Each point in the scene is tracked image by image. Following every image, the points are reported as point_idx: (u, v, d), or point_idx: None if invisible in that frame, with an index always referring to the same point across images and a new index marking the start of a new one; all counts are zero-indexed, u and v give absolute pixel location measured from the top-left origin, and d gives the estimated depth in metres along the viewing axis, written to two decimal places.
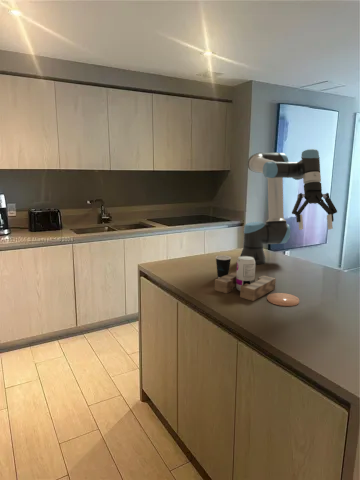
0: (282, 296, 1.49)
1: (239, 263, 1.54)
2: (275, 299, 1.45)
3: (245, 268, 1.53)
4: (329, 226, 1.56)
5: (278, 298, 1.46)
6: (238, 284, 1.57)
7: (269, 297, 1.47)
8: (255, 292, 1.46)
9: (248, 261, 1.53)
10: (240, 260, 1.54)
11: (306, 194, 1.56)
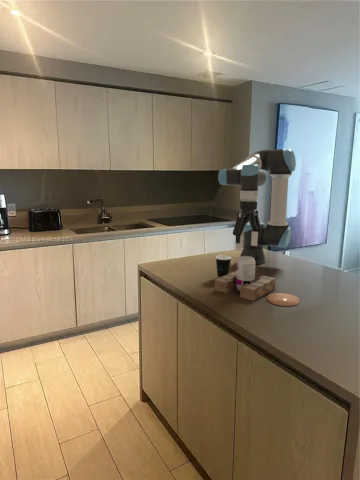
0: (282, 296, 1.49)
1: (239, 263, 1.54)
2: (275, 299, 1.45)
3: (245, 268, 1.53)
4: (254, 243, 1.59)
5: (278, 298, 1.46)
6: (238, 284, 1.57)
7: (269, 297, 1.47)
8: (255, 292, 1.46)
9: (248, 261, 1.53)
10: (240, 260, 1.54)
11: (245, 213, 1.49)
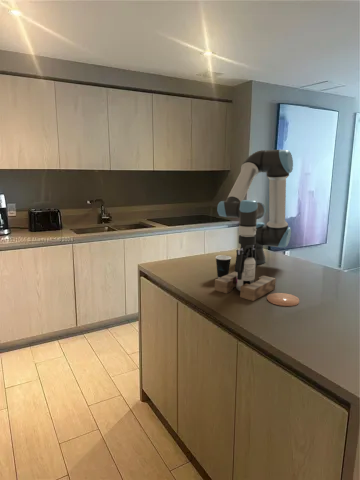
0: (282, 296, 1.49)
1: None
2: (275, 299, 1.45)
3: (245, 268, 1.53)
4: None
5: (278, 298, 1.46)
6: None
7: (269, 297, 1.47)
8: (255, 292, 1.46)
9: (248, 261, 1.53)
10: None
11: (244, 249, 1.52)
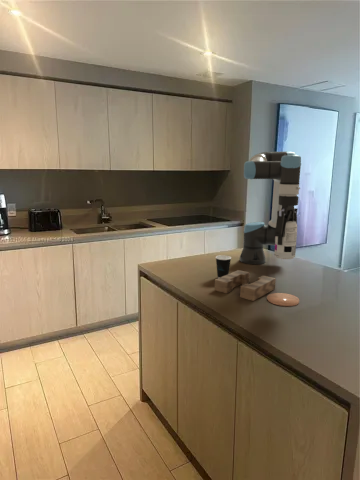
0: (282, 296, 1.49)
1: None
2: (275, 299, 1.45)
3: (286, 231, 1.37)
4: None
5: (278, 298, 1.46)
6: None
7: (269, 297, 1.47)
8: (255, 292, 1.46)
9: (289, 224, 1.36)
10: None
11: (286, 210, 1.35)
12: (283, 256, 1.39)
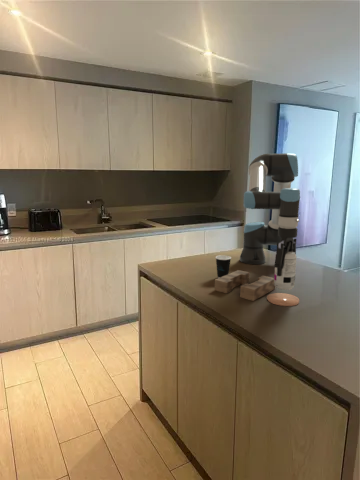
0: (282, 296, 1.49)
1: None
2: (275, 299, 1.45)
3: (286, 263, 1.39)
4: None
5: (278, 298, 1.46)
6: None
7: (269, 297, 1.47)
8: (255, 292, 1.46)
9: (289, 256, 1.39)
10: None
11: (285, 242, 1.38)
12: (282, 286, 1.41)
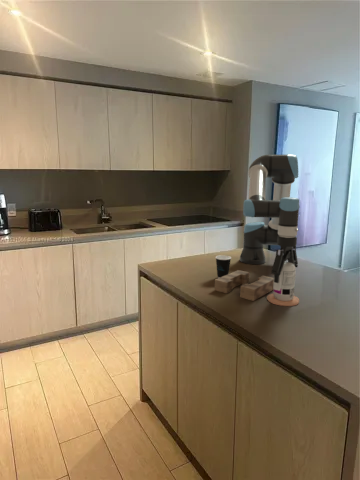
0: None
1: None
2: (275, 299, 1.45)
3: (285, 275, 1.40)
4: None
5: None
6: (276, 292, 1.44)
7: (269, 297, 1.47)
8: (255, 292, 1.46)
9: (288, 268, 1.40)
10: None
11: (284, 250, 1.38)
12: (282, 298, 1.42)
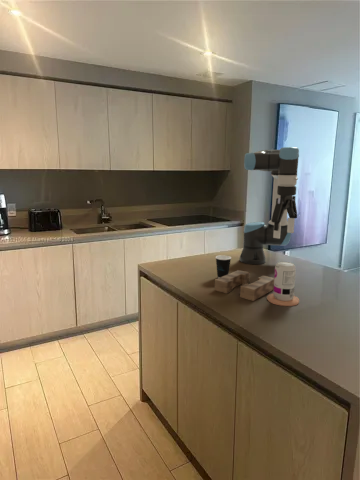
0: None
1: (278, 270, 1.42)
2: (275, 299, 1.45)
3: (285, 275, 1.40)
4: (290, 230, 1.53)
5: None
6: (276, 292, 1.44)
7: (269, 297, 1.47)
8: (255, 292, 1.46)
9: (288, 268, 1.40)
10: (279, 266, 1.41)
11: (284, 199, 1.42)
12: (282, 298, 1.42)
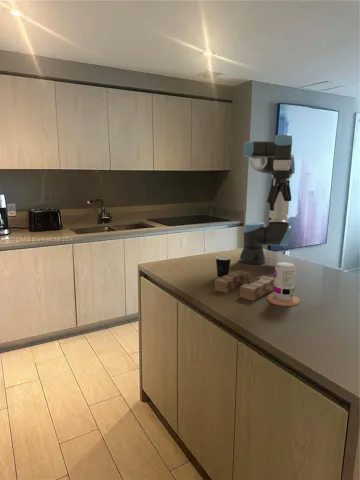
0: None
1: (278, 270, 1.42)
2: (275, 299, 1.45)
3: (285, 275, 1.40)
4: (285, 212, 1.66)
5: None
6: (276, 292, 1.44)
7: (269, 297, 1.47)
8: (255, 292, 1.46)
9: (288, 268, 1.40)
10: (279, 266, 1.41)
11: (279, 182, 1.55)
12: (282, 298, 1.42)
